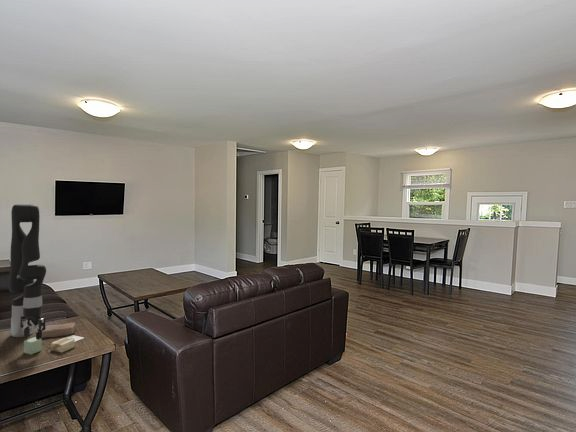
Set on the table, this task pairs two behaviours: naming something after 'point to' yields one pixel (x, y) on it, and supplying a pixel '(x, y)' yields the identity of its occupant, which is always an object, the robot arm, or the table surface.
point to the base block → (62, 344)
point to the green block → (32, 345)
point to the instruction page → (75, 337)
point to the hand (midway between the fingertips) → (32, 337)
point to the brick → (59, 330)
